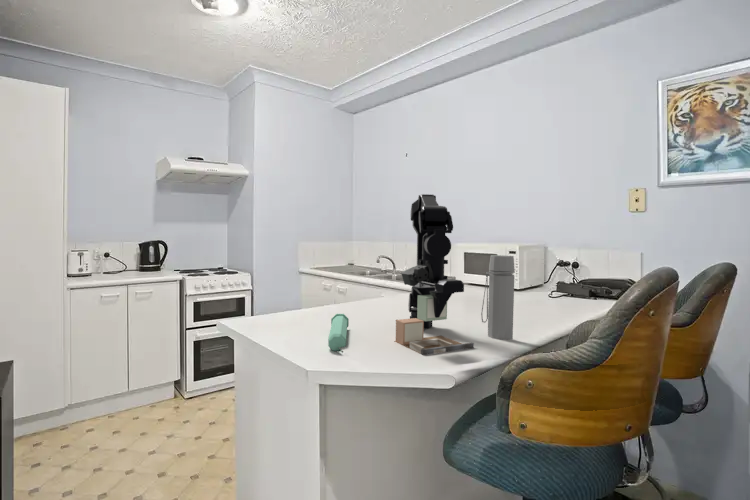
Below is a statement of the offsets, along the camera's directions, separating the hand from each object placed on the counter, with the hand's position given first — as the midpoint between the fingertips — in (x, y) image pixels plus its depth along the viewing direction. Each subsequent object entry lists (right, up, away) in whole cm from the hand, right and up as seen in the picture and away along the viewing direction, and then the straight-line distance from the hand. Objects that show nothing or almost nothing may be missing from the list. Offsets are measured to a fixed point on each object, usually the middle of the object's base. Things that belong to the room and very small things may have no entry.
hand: (432, 315), depth 109 cm
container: (-25, -9, +13) cm, 30 cm away
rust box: (-5, -8, +7) cm, 12 cm away
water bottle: (+21, -10, +16) cm, 28 cm away
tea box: (0, -1, 0) cm, 1 cm away
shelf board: (+1, -10, +5) cm, 11 cm away
